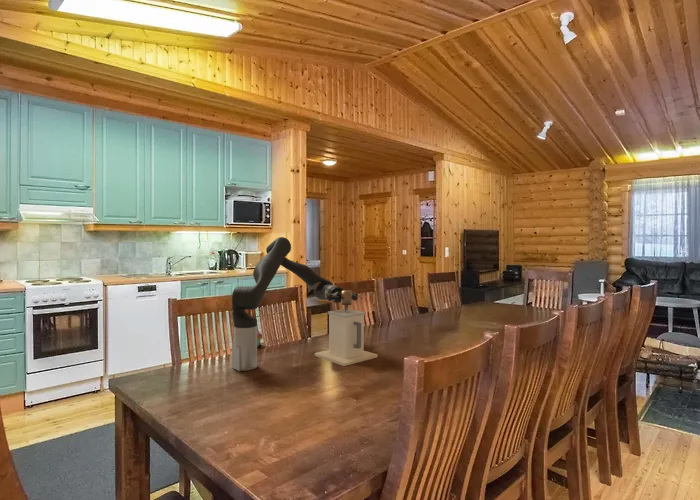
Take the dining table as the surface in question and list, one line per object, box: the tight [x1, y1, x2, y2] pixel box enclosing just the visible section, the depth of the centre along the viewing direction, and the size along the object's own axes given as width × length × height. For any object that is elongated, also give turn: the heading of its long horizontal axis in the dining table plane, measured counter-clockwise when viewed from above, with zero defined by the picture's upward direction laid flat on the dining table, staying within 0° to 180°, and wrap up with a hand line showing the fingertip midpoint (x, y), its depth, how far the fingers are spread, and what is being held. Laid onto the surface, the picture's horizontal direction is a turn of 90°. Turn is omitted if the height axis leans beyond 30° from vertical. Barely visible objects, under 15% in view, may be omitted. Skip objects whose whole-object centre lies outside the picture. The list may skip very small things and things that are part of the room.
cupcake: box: [257, 330, 263, 347], centre depth 215 cm, size 9×8×12 cm
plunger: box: [340, 289, 353, 313], centre depth 198 cm, size 9×9×24 cm
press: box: [314, 308, 378, 367], centre depth 198 cm, size 20×20×20 cm
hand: (347, 298), depth 197 cm, fingers open, 8 cm apart
